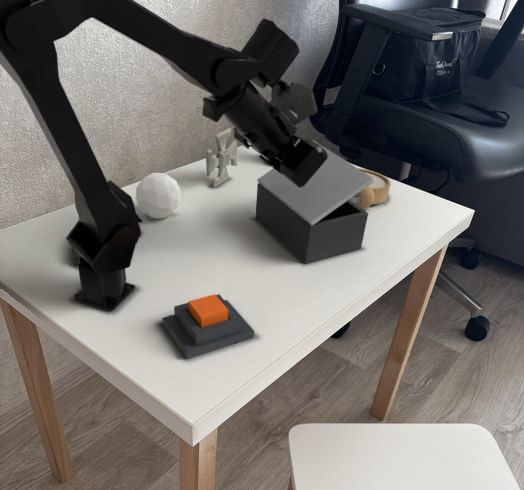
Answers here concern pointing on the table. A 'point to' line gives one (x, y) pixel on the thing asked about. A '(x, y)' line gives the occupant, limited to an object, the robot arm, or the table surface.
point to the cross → (221, 157)
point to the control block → (206, 331)
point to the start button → (208, 310)
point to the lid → (318, 188)
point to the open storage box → (312, 228)
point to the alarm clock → (372, 191)
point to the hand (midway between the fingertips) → (305, 175)
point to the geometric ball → (158, 195)
